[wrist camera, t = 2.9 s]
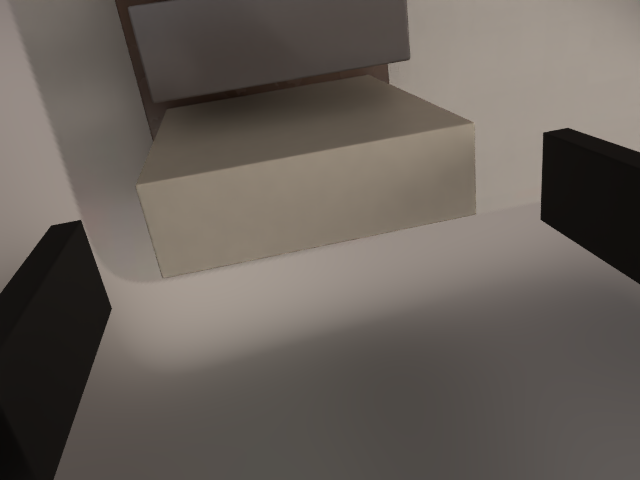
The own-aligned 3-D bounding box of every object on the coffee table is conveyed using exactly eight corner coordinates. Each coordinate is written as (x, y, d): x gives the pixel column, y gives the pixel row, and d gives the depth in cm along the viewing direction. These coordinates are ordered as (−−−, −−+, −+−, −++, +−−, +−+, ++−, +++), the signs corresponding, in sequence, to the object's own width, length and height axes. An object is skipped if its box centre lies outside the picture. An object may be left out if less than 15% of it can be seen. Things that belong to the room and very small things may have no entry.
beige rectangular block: (166, 109, 26) (134, 185, 15) (368, 74, 27) (475, 122, 16) (181, 169, 27) (162, 279, 16) (374, 133, 28) (476, 215, 17)
